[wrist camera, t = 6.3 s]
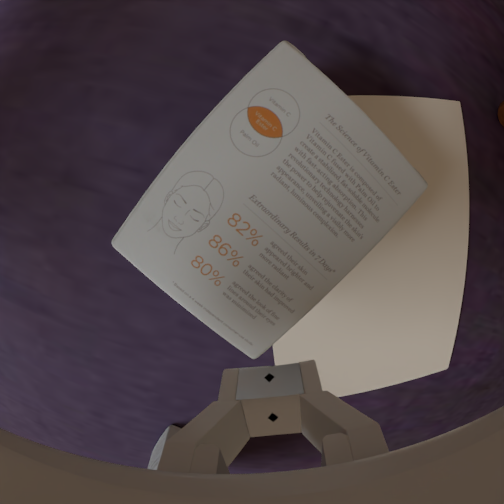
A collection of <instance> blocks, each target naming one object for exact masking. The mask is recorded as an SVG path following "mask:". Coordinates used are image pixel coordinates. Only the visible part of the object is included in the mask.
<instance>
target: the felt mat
mask: <svg viewBox="0 0 504 504" xmlns="http://www.w3.org/2000/svg"><path fill="white" fill-rule="evenodd" d="M348 97H349V98H350V99H351V100H352V101H353V102H354V103H355V104H356V105H357V106H358V107H359V108H360V109H361V110H362V111H363V112H364V113H365V114H366V115H367V116H368V117H369V118H370V119H371V120H372V121H373V122H374V123H375V124H376V125H377V127H378V128H379V129H380V130H381V131H382V132H383V133H384V134H385V135H386V136H387V137H388V139H389V140H390V141H391V142H392V143H393V144H394V145H395V146H396V148H397V149H398V150H399V151H400V152H401V154H402V155H403V156H404V157H405V158H406V159H407V161H408V162H409V163H410V164H411V165H412V167H414V168H415V169H416V170H417V171H418V172H419V173H420V174H421V176H422V177H423V178H424V179H425V181H426V182H427V183H428V187H427V189H426V190H425V191H424V193H423V194H422V195H421V196H420V197H419V198H418V200H417V201H416V202H415V203H414V204H413V205H412V206H411V208H410V209H409V210H408V211H407V212H406V213H405V214H404V216H403V217H402V218H401V219H400V220H399V221H398V222H397V224H396V225H395V226H394V227H393V228H392V229H391V230H390V231H389V232H388V233H387V234H386V235H385V236H384V238H383V239H382V240H381V241H380V242H379V243H378V244H377V245H376V246H375V247H374V248H373V249H372V250H371V251H370V252H369V253H368V254H367V255H366V256H365V257H364V258H363V259H362V260H361V261H360V262H359V263H358V264H357V266H356V267H355V268H354V269H353V270H351V271H350V272H349V273H348V274H347V275H346V276H345V277H344V278H343V279H342V280H341V281H340V282H339V283H338V284H337V285H336V286H335V287H334V288H333V289H332V290H331V291H330V292H329V293H328V294H327V295H326V296H325V297H324V298H323V299H322V300H321V301H320V302H319V303H318V304H317V305H316V306H315V307H313V308H312V309H311V310H310V311H309V312H308V313H307V314H306V315H305V316H304V317H303V318H302V319H301V320H299V321H298V322H297V323H296V324H295V325H294V326H293V327H292V328H291V329H290V330H289V331H287V332H286V333H285V334H284V335H283V336H282V337H281V338H280V339H279V340H277V341H276V342H275V343H274V344H273V353H274V360H275V365H283V364H291V363H299V362H302V361H308V360H315V362H316V366H317V370H318V374H319V378H320V382H321V386H322V390H323V391H329V392H330V393H332V394H333V395H335V396H336V397H341V396H346V395H351V394H356V393H361V392H366V391H370V390H374V389H379V388H383V387H387V386H391V385H395V384H398V383H402V382H406V381H409V380H413V379H416V378H420V377H423V376H426V375H429V374H433V373H436V372H439V371H442V370H445V369H448V366H449V362H450V358H451V354H452V350H453V346H454V341H455V337H456V332H457V327H458V322H459V316H460V310H461V304H462V298H463V291H464V283H465V274H466V264H467V252H468V236H469V178H468V161H467V150H466V140H465V131H464V124H463V117H462V111H461V105H460V101H452V100H444V99H434V98H422V97H406V96H377V95H352V96H348Z"/></svg>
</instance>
